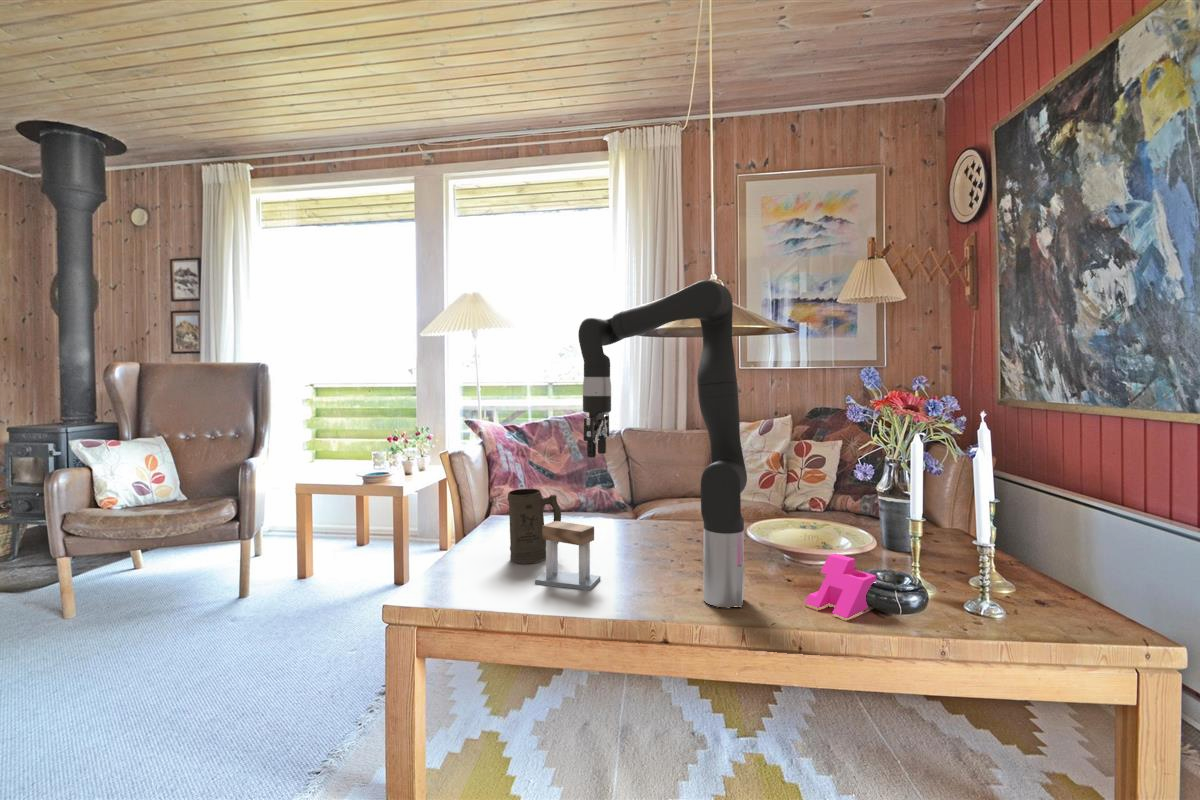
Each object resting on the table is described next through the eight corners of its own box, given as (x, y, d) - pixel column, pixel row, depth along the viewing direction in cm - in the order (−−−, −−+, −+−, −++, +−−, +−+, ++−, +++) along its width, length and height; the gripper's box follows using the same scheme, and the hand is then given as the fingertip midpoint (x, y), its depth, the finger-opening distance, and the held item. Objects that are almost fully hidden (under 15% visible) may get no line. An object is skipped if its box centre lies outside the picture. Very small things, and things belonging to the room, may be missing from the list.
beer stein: (509, 566, 160) (509, 495, 159) (505, 555, 170) (505, 488, 170) (563, 562, 164) (563, 492, 164) (556, 551, 174) (556, 486, 174)
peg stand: (600, 579, 149) (600, 537, 149) (590, 590, 142) (590, 546, 141) (547, 573, 154) (547, 533, 154) (534, 583, 146) (534, 540, 146)
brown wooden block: (594, 540, 147) (594, 526, 147) (581, 545, 142) (581, 531, 142) (555, 533, 153) (555, 520, 153) (542, 539, 148) (542, 525, 148)
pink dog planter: (834, 595, 139) (834, 553, 138) (875, 609, 130) (876, 564, 130) (804, 606, 132) (805, 562, 131) (846, 622, 123) (847, 574, 123)
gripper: (602, 395, 143) (602, 459, 144) (618, 393, 157) (618, 452, 157) (574, 394, 146) (574, 458, 146) (592, 393, 159) (592, 451, 160)
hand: (596, 455), depth 152 cm, fingers open, 8 cm apart
